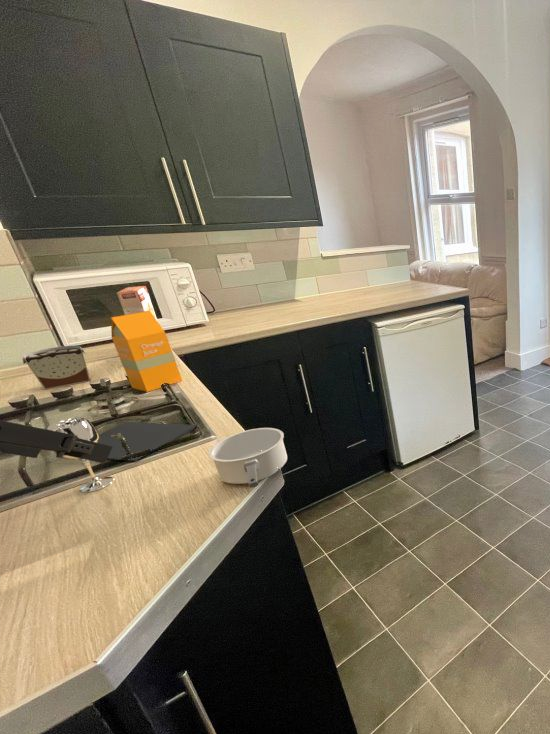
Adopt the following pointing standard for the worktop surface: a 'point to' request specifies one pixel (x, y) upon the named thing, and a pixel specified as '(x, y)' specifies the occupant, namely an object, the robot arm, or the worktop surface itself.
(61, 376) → the food container
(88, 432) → the wineglass
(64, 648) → the worktop surface
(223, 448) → the saucepan
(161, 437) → the mat
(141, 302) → the cracker box
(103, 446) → the robot arm
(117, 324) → the orange juice
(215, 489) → the worktop surface
